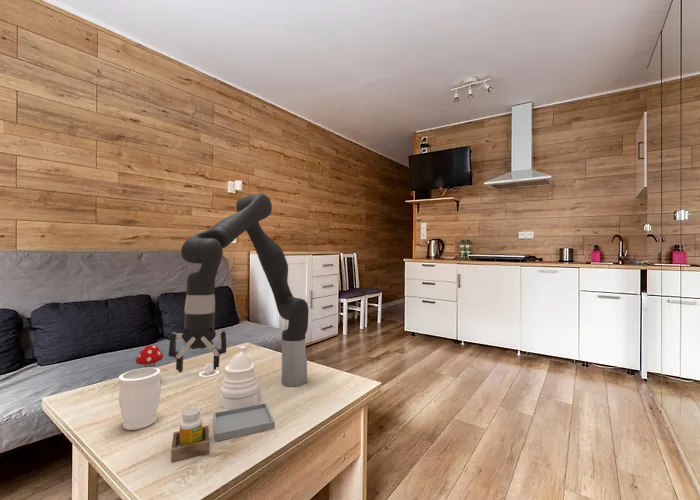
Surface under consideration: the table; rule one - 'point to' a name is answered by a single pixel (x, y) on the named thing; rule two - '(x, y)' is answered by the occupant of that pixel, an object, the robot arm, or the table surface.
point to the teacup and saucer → (209, 370)
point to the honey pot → (239, 383)
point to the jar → (139, 397)
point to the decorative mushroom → (149, 356)
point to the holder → (189, 446)
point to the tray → (242, 421)
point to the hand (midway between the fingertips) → (197, 370)
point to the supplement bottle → (190, 427)
